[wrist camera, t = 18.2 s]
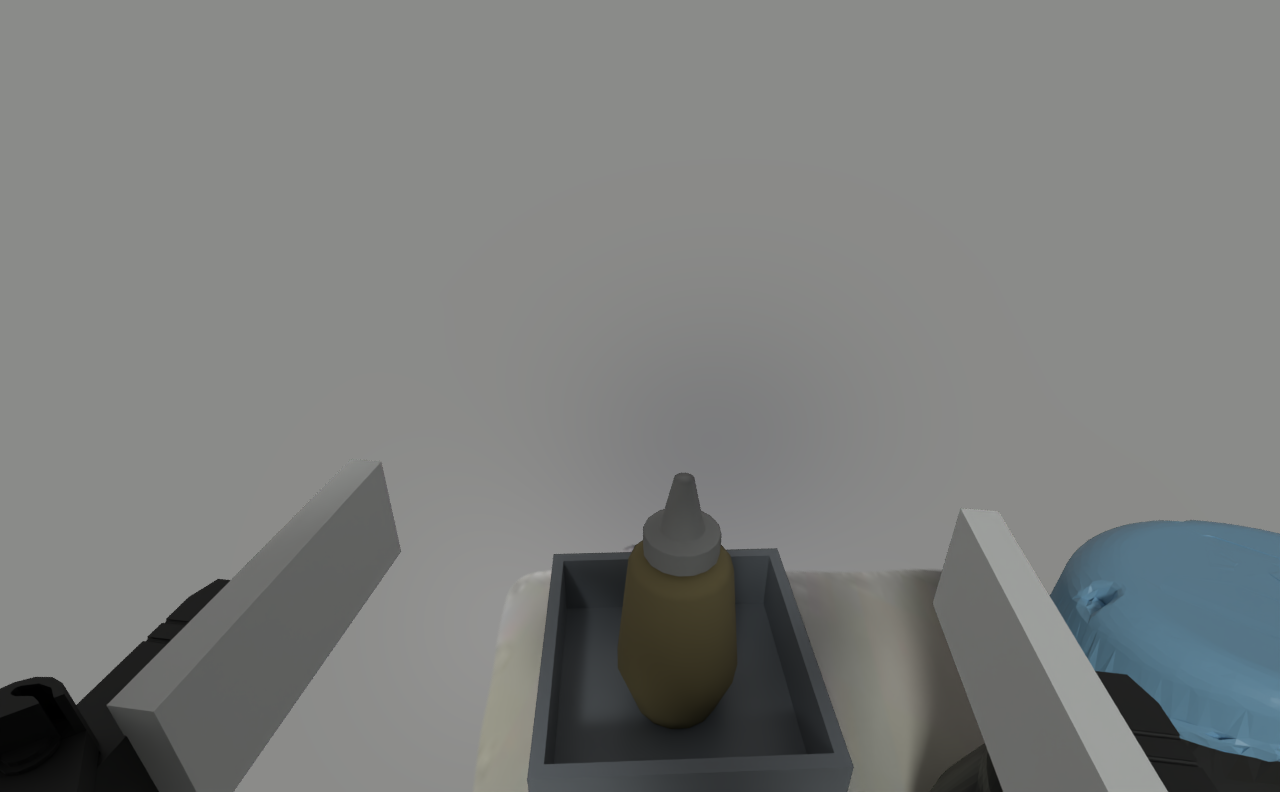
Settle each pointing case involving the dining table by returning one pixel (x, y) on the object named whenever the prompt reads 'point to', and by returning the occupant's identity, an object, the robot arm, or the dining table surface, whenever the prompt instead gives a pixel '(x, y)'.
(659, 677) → the squeeze bottle
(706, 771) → the box
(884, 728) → the dining table surface
